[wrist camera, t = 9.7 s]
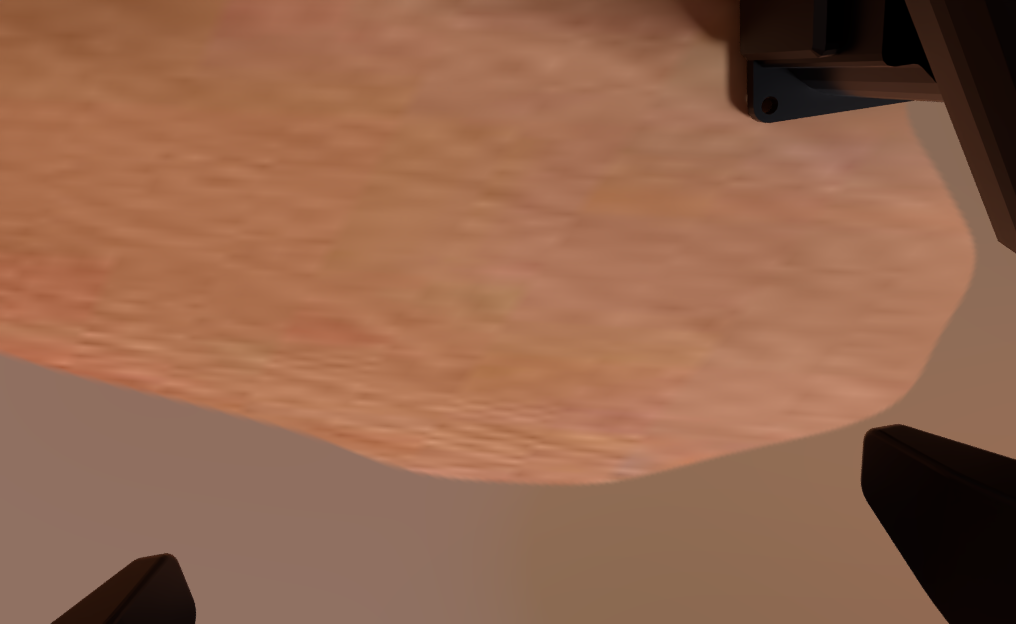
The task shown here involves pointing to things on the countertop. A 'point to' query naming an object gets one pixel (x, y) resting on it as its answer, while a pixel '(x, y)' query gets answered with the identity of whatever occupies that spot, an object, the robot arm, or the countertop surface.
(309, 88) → the countertop surface
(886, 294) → the countertop surface
